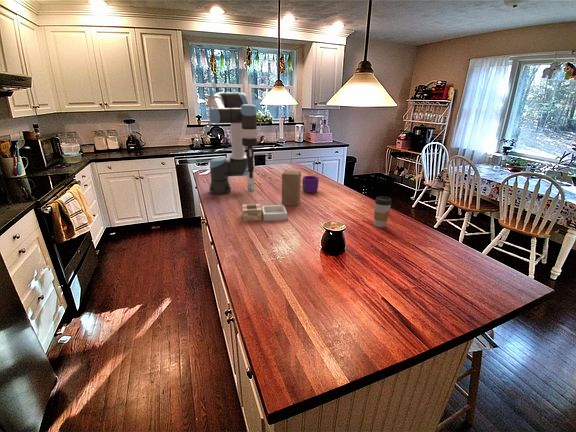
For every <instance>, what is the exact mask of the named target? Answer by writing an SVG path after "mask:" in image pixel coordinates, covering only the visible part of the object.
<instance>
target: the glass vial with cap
mask: <svg viewBox="0 0 576 432" xmlns="http://www.w3.org/2000/svg"><path fill="white" fill-rule="evenodd" d="M254 166H255V165H253V170H254V169H255V167H254ZM247 171H248V166H247ZM254 171H255V170H254ZM254 171H253V177H254V178H255V175H254ZM246 177H247V181H248V172H247V175H246ZM247 192H248V193H255V183H254V184H248V183H247Z"/></svg>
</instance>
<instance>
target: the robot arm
mask: <svg viewBox="0 0 576 432" xmlns="http://www.w3.org/2000/svg"><path fill="white" fill-rule="evenodd" d="M248 102H249V101H248V98H247V94H246V93H244V92H239V91H236V92H235V91H234V92H233V91H231V92H230V91H229V92H228V91H219V92H215V93H213V94H211V95H210V96H209V97H208V99H207V106H208V107H207V108H208V116H209V123H211V124H215V125H217V124H218V125H219V124H230V136H231V139H230V141H231V155H230V156H229V158H227V157H225V156H220V157H215V158H212V159H210V161H209V171H210V183H209V184H210V185H209V193H210V194H211V195H227V194H230V193H232V186H231V184H230V181H229V177H244V176H247V172H248V180H247V185H248V184H254V185H255V176H254V177H253V171H255V170H253V166H254V155H255V154H254V153H255V149H254V148H253V147H257V145H258V138H257V137H258V130H257V125H258V124H257V106H256V105H255V104H249V103H248ZM245 147H246V148H245ZM247 166H248V171H247Z"/></svg>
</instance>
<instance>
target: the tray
mask: <svg viewBox="0 0 576 432" xmlns="http://www.w3.org/2000/svg"><path fill="white" fill-rule="evenodd" d="M261 210H262V220H263V222H269V221H270V222H273V221H275V222H276V221H287V220H288V211H287V209H286V206H285V205H282V204H278V205H277V204H276V205H275V204H273V205H261Z"/></svg>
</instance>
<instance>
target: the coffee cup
mask: <svg viewBox="0 0 576 432" xmlns="http://www.w3.org/2000/svg"><path fill="white" fill-rule="evenodd" d="M391 205H392V198H391V197H389V196H383V195H382V196H376V198H375V201H374V212H373V225H374V226H375V227H377V228H385V227H386V226H387V222H388V219H389V215H390V210H391Z"/></svg>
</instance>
